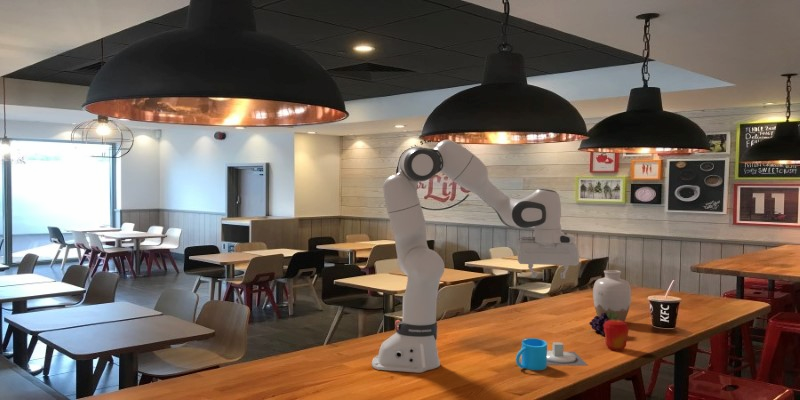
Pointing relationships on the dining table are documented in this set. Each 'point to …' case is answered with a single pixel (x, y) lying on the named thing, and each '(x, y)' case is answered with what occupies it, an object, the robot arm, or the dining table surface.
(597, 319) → the fruit
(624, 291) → the vase
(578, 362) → the mat
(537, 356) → the mug
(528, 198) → the robot arm
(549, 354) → the lid
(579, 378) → the dining table surface
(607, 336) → the apple
